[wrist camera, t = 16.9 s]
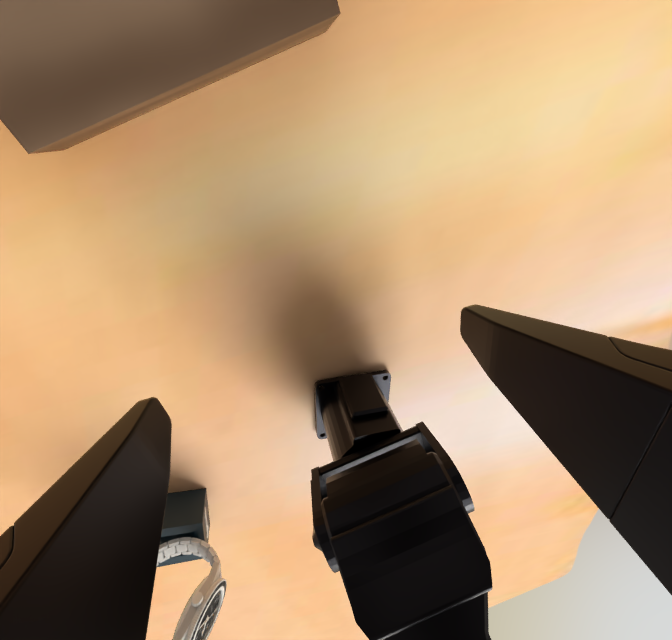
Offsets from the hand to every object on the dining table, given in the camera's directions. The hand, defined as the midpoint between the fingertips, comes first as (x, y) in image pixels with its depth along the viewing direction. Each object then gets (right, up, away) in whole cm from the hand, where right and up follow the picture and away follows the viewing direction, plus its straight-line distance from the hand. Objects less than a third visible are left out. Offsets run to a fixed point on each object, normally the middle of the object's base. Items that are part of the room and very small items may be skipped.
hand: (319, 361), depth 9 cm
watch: (-14, -16, +21) cm, 30 cm away
